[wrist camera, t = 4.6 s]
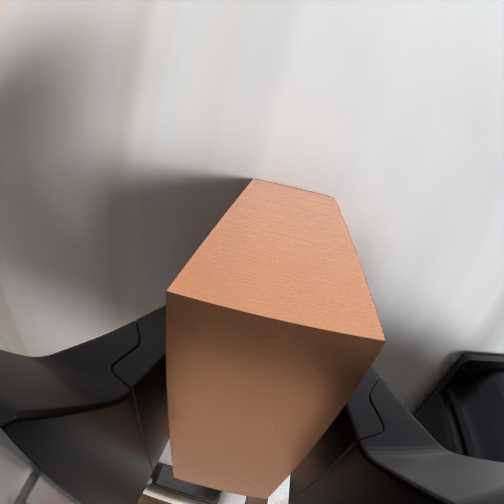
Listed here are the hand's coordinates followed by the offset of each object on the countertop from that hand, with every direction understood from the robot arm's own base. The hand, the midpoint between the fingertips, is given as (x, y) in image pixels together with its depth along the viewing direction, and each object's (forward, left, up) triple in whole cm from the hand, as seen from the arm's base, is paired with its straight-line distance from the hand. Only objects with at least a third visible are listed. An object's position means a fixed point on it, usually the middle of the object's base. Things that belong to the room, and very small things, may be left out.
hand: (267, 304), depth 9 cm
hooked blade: (+2, +9, -1) cm, 9 cm away
